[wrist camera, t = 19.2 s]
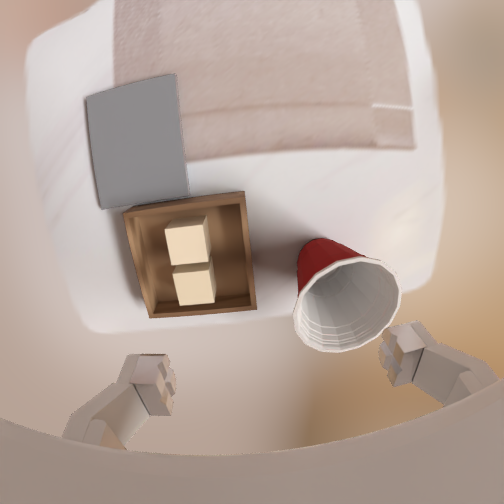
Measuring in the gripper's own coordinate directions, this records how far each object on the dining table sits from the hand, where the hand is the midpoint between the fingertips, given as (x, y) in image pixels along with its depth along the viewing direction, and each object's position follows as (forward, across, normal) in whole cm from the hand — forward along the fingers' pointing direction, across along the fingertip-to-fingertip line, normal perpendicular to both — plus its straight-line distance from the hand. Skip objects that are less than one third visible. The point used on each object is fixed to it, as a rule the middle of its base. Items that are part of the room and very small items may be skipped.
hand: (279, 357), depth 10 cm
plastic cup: (+25, -8, +8) cm, 27 cm away
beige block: (+24, +7, +8) cm, 26 cm away
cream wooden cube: (+24, +7, +3) cm, 25 cm away
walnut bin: (+25, +7, +5) cm, 26 cm away
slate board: (+25, +12, -9) cm, 29 cm away
